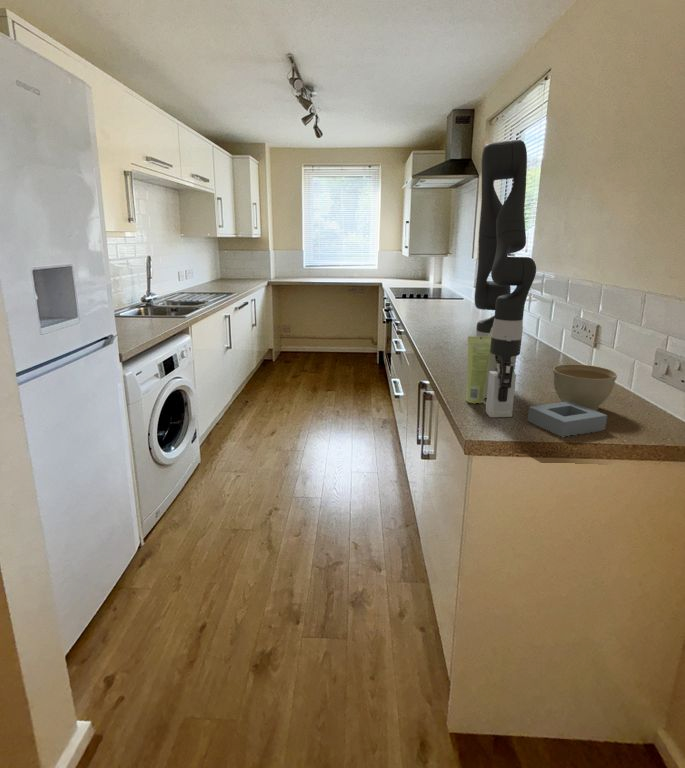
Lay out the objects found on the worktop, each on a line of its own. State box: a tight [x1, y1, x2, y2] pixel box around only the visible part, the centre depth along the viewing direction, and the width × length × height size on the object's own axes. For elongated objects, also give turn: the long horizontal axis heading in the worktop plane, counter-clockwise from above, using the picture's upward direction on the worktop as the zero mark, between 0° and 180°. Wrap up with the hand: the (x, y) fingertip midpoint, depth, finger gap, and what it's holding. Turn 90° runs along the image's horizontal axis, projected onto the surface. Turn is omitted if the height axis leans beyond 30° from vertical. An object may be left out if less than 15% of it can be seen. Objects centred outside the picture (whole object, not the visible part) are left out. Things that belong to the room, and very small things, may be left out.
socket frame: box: [527, 401, 608, 438], centre depth 126 cm, size 12×14×4 cm
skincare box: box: [485, 371, 517, 418], centre depth 131 cm, size 6×4×12 cm
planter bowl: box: [552, 363, 618, 411], centre depth 139 cm, size 16×16×11 cm
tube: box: [465, 335, 491, 405], centre depth 142 cm, size 6×5×20 cm
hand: (500, 397), depth 132 cm, fingers open, 6 cm apart
